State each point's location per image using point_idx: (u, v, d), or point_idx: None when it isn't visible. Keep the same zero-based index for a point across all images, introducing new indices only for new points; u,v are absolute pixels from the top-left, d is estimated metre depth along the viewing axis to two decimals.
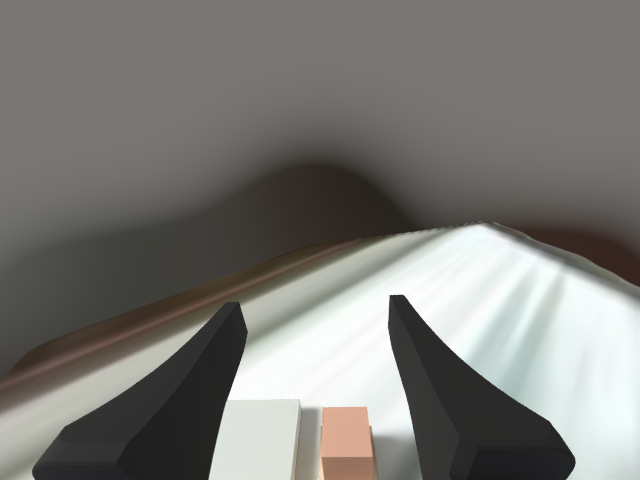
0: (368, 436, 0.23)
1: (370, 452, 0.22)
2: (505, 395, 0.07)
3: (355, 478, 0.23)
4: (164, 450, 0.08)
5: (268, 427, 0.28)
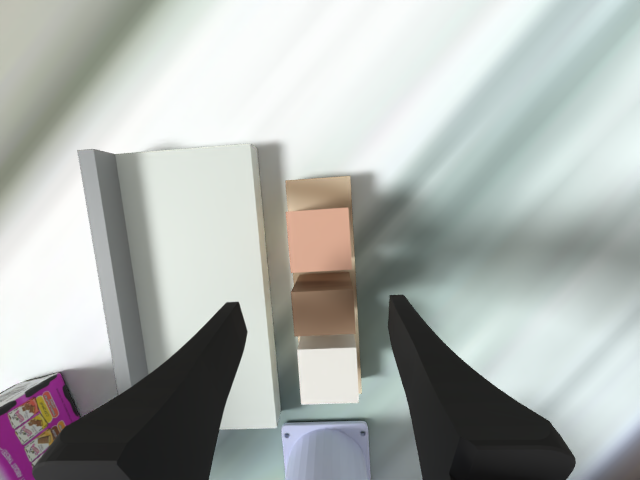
0: (348, 247, 0.18)
1: (349, 265, 0.18)
2: (505, 395, 0.07)
3: None
4: (164, 450, 0.08)
5: (217, 185, 0.22)
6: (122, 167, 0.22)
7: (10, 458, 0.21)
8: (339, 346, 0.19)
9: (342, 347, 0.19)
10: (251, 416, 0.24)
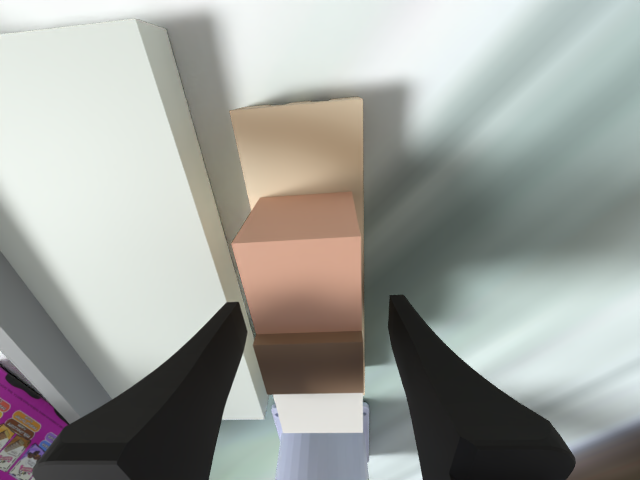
0: (357, 300, 0.10)
1: (358, 325, 0.10)
2: (505, 395, 0.07)
3: None
4: (164, 450, 0.08)
5: (96, 122, 0.11)
6: None
7: None
8: None
9: None
10: (233, 410, 0.20)
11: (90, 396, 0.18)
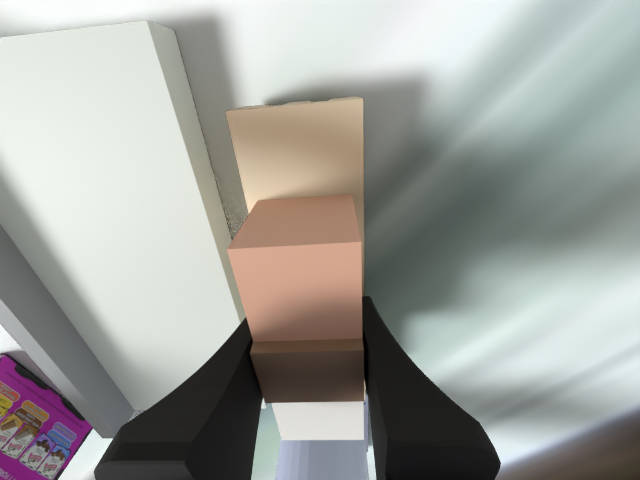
0: (357, 307, 0.09)
1: (358, 332, 0.10)
2: (444, 396, 0.07)
3: None
4: (218, 450, 0.07)
5: (108, 118, 0.11)
6: None
7: None
8: None
9: None
10: None
11: (98, 384, 0.19)
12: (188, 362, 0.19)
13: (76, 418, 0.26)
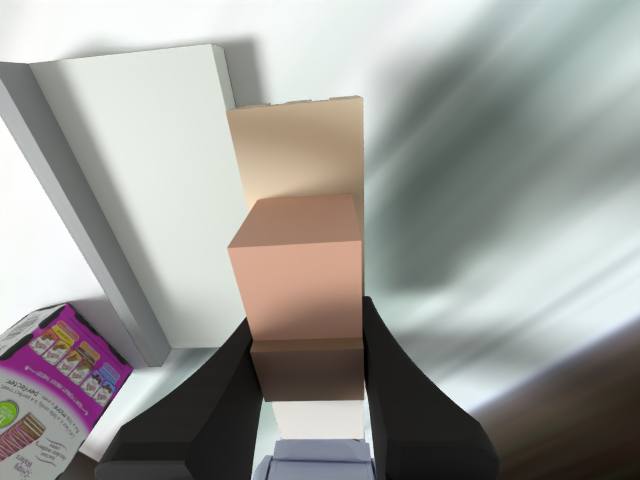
0: (357, 306, 0.09)
1: (358, 331, 0.10)
2: (444, 396, 0.07)
3: None
4: (218, 450, 0.07)
5: (178, 108, 0.17)
6: (44, 83, 0.16)
7: (46, 377, 0.24)
8: None
9: None
10: None
11: (148, 320, 0.24)
12: (219, 302, 0.24)
13: (119, 362, 0.31)
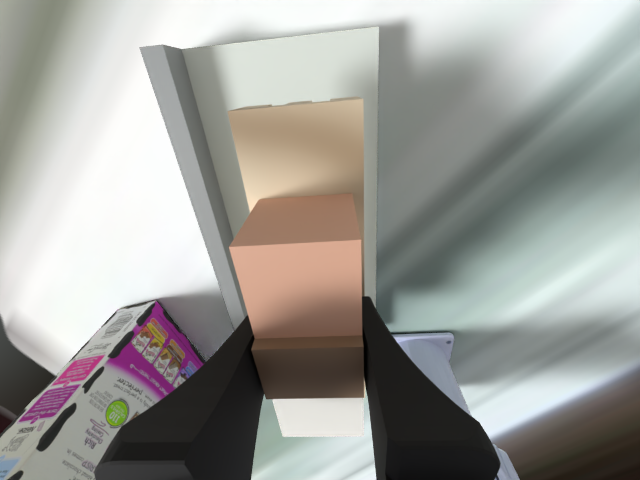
0: (357, 305, 0.09)
1: (358, 329, 0.10)
2: (444, 396, 0.07)
3: None
4: (218, 450, 0.07)
5: (328, 95, 0.16)
6: (194, 70, 0.16)
7: (147, 375, 0.24)
8: None
9: None
10: None
11: None
12: None
13: (199, 361, 0.30)
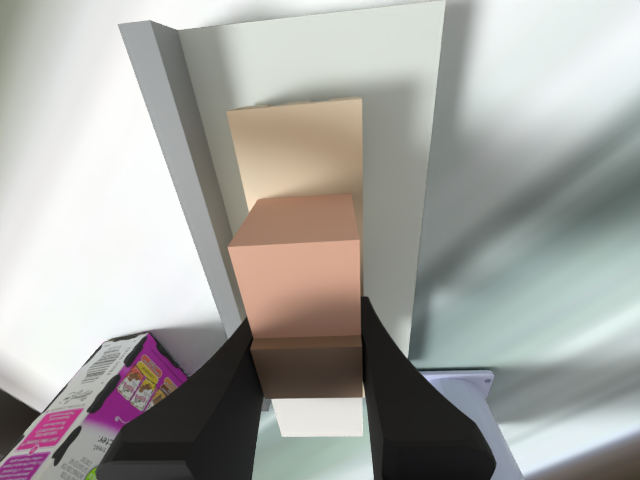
0: (356, 305, 0.09)
1: (357, 329, 0.10)
2: (440, 396, 0.07)
3: None
4: (219, 450, 0.07)
5: (370, 93, 0.12)
6: (194, 58, 0.12)
7: None
8: None
9: None
10: None
11: None
12: None
13: None
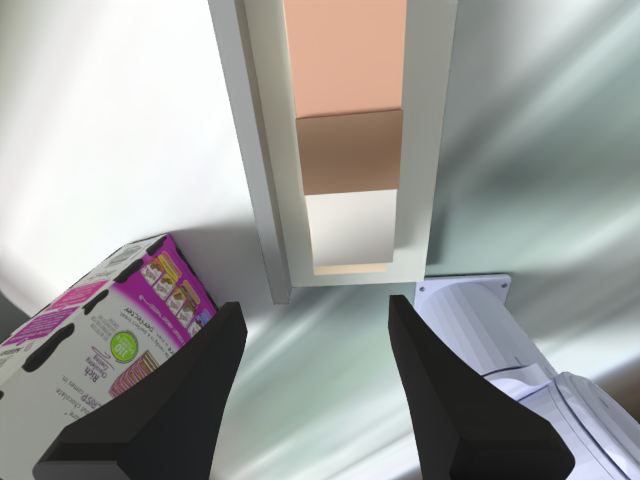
0: (399, 63, 0.10)
1: (397, 100, 0.10)
2: (505, 395, 0.07)
3: None
4: (164, 450, 0.08)
5: None
6: None
7: (158, 312, 0.20)
8: None
9: None
10: (397, 270, 0.22)
11: (281, 243, 0.20)
12: None
13: (215, 311, 0.27)
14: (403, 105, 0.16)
